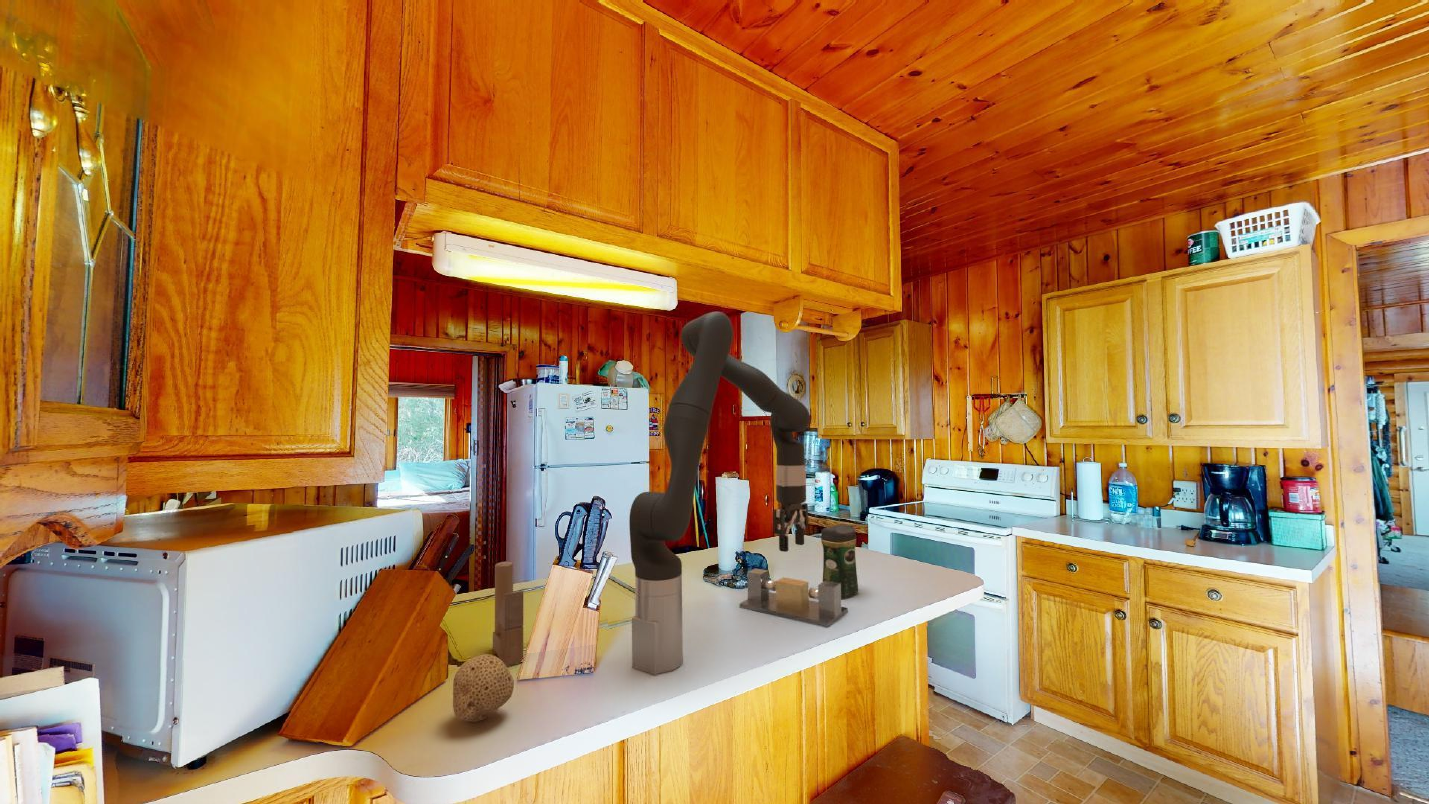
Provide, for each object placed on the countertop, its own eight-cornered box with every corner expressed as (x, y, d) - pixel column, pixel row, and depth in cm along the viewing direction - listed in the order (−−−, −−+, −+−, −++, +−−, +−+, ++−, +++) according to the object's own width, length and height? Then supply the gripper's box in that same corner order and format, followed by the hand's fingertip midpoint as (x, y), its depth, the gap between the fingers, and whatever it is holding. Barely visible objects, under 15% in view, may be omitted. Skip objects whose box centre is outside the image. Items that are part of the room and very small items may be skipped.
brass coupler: (801, 610, 129) (801, 585, 129) (776, 605, 133) (775, 581, 133) (808, 606, 132) (808, 581, 133) (783, 600, 136) (783, 577, 137)
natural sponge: (519, 702, 90) (519, 642, 90) (506, 732, 81) (506, 666, 82) (462, 707, 89) (462, 646, 89) (443, 738, 80) (443, 670, 80)
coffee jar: (839, 587, 151) (837, 521, 151) (862, 593, 145) (861, 525, 145) (817, 594, 144) (815, 525, 145) (841, 601, 138) (839, 529, 139)
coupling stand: (827, 627, 121) (827, 592, 121) (739, 607, 135) (739, 575, 135) (847, 612, 131) (847, 579, 131) (763, 594, 145) (763, 565, 145)
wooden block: (504, 668, 103) (505, 574, 104) (492, 649, 112) (492, 562, 112) (524, 662, 105) (524, 571, 106) (510, 644, 114) (510, 560, 115)
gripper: (790, 479, 142) (791, 541, 141) (763, 484, 131) (764, 551, 130) (816, 481, 138) (817, 544, 137) (790, 486, 126) (792, 555, 125)
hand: (791, 547), depth 133 cm, fingers open, 8 cm apart
